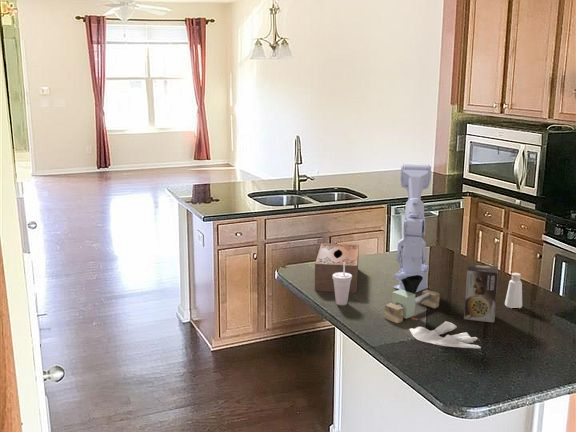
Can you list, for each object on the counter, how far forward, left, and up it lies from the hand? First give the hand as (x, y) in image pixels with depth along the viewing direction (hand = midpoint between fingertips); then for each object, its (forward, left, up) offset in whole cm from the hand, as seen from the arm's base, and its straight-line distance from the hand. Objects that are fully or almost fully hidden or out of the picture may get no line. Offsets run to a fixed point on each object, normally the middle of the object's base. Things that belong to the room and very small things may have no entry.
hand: (410, 297), depth 190 cm
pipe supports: (-2, 0, -5) cm, 5 cm away
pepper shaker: (-31, +18, -5) cm, 36 cm away
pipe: (-2, 0, -3) cm, 3 cm away
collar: (+3, 0, -5) cm, 6 cm away
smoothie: (+10, -20, -5) cm, 23 cm away
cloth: (+4, +18, -6) cm, 19 cm away
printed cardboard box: (-14, +16, -5) cm, 22 cm away
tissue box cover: (-6, -38, -6) cm, 38 cm away
